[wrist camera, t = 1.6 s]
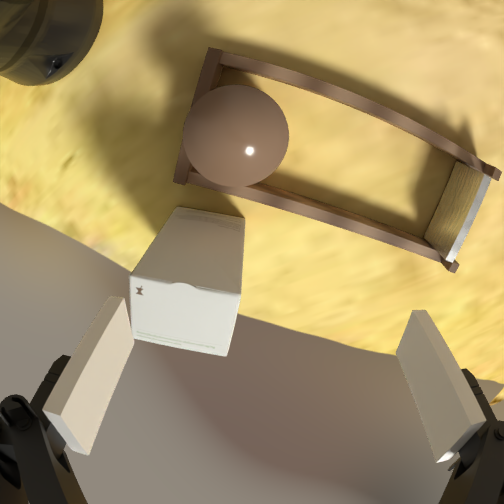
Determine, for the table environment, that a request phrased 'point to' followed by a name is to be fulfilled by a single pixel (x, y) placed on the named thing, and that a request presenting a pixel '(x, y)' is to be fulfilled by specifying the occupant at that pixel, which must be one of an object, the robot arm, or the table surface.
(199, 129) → the jar
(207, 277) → the skincare box
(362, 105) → the frame
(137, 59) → the table surface
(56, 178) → the table surface
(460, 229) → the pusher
